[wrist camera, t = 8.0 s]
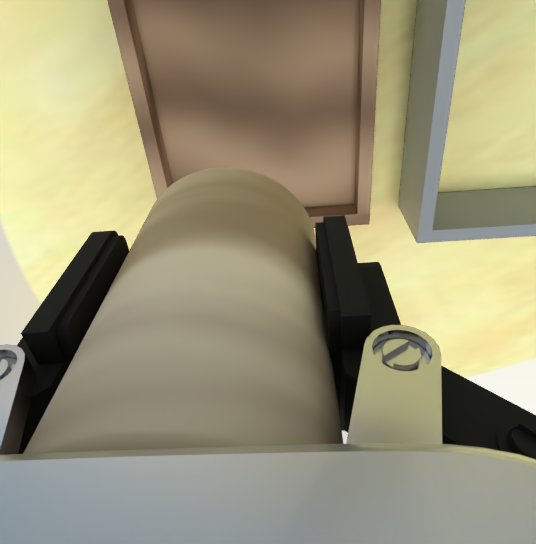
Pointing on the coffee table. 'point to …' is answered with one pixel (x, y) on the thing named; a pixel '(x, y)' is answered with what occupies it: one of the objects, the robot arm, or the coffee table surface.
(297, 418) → the beige grooved cylinder
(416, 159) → the grey square frame
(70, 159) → the coffee table surface
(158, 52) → the tray
